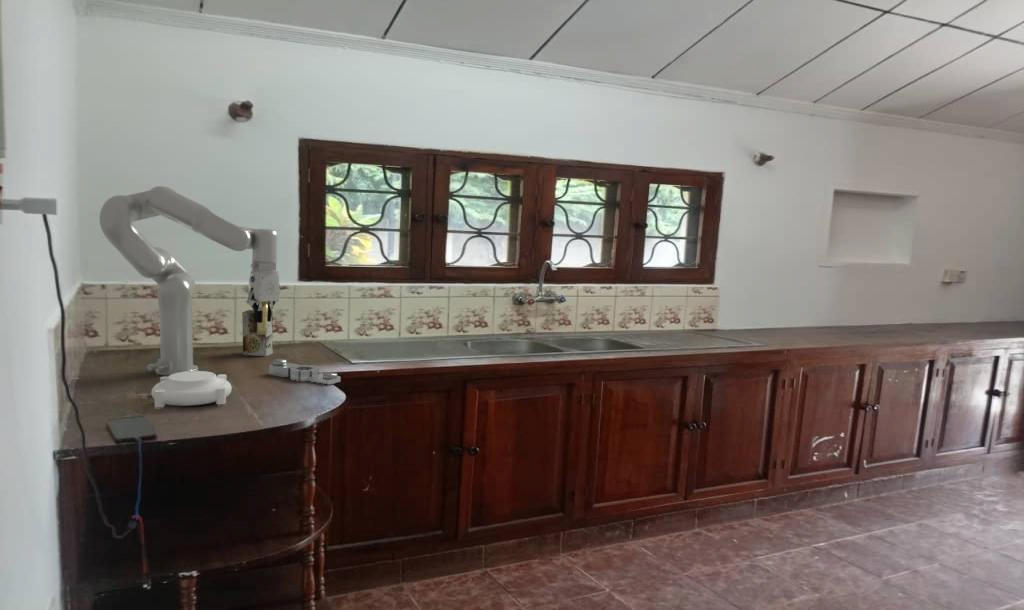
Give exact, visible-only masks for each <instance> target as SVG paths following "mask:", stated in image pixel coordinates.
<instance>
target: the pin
mask: <svg viewBox="0 0 1024 610" xmlns="http://www.w3.org/2000/svg"><path fill="white" fill-rule="evenodd" d="M268 303H269V302H268V301H266V302H262V308H261V311H263V318H262V323H258V322H257V334H259V335H266V334H267V325H268Z"/></svg>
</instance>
